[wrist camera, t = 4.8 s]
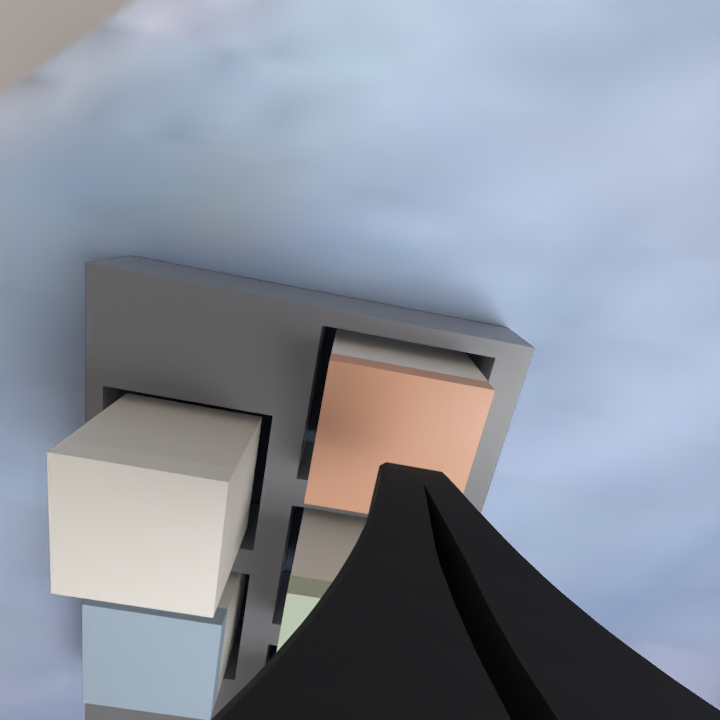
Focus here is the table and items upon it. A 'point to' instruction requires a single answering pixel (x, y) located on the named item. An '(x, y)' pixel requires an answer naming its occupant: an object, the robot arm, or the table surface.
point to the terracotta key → (393, 416)
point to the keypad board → (262, 396)
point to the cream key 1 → (151, 504)
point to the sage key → (317, 562)
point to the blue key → (158, 655)
